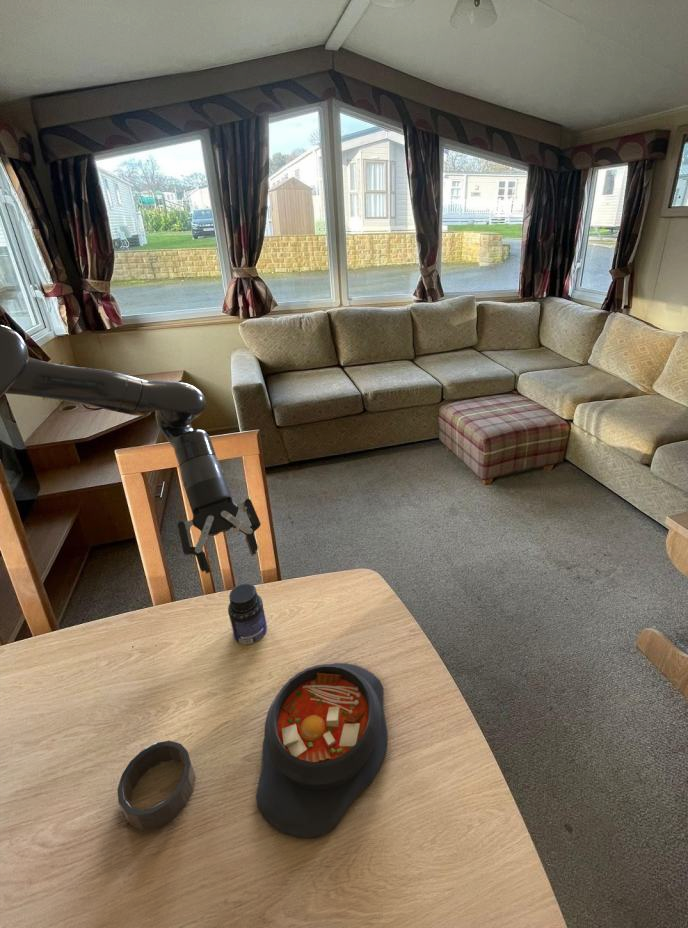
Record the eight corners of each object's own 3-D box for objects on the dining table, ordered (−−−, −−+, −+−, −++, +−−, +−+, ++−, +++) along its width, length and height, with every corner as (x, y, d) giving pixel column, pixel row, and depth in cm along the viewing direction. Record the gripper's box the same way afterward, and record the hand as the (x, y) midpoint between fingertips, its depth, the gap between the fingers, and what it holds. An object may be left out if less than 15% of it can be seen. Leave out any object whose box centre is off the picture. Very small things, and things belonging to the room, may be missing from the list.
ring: (117, 841, 63) (107, 821, 61) (138, 767, 71) (129, 746, 69) (189, 828, 64) (182, 807, 62) (201, 756, 72) (195, 735, 70)
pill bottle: (274, 631, 92) (267, 588, 87) (250, 655, 87) (242, 611, 82) (251, 617, 95) (243, 575, 90) (227, 640, 90) (217, 597, 85)
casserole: (308, 658, 86) (304, 625, 83) (408, 688, 81) (408, 654, 77) (225, 814, 65) (214, 779, 62) (352, 870, 60) (349, 835, 56)
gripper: (239, 477, 100) (265, 551, 96) (166, 499, 93) (191, 581, 90) (243, 466, 94) (271, 546, 90) (165, 490, 87) (192, 577, 83)
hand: (231, 563), depth 90 cm, fingers open, 8 cm apart
